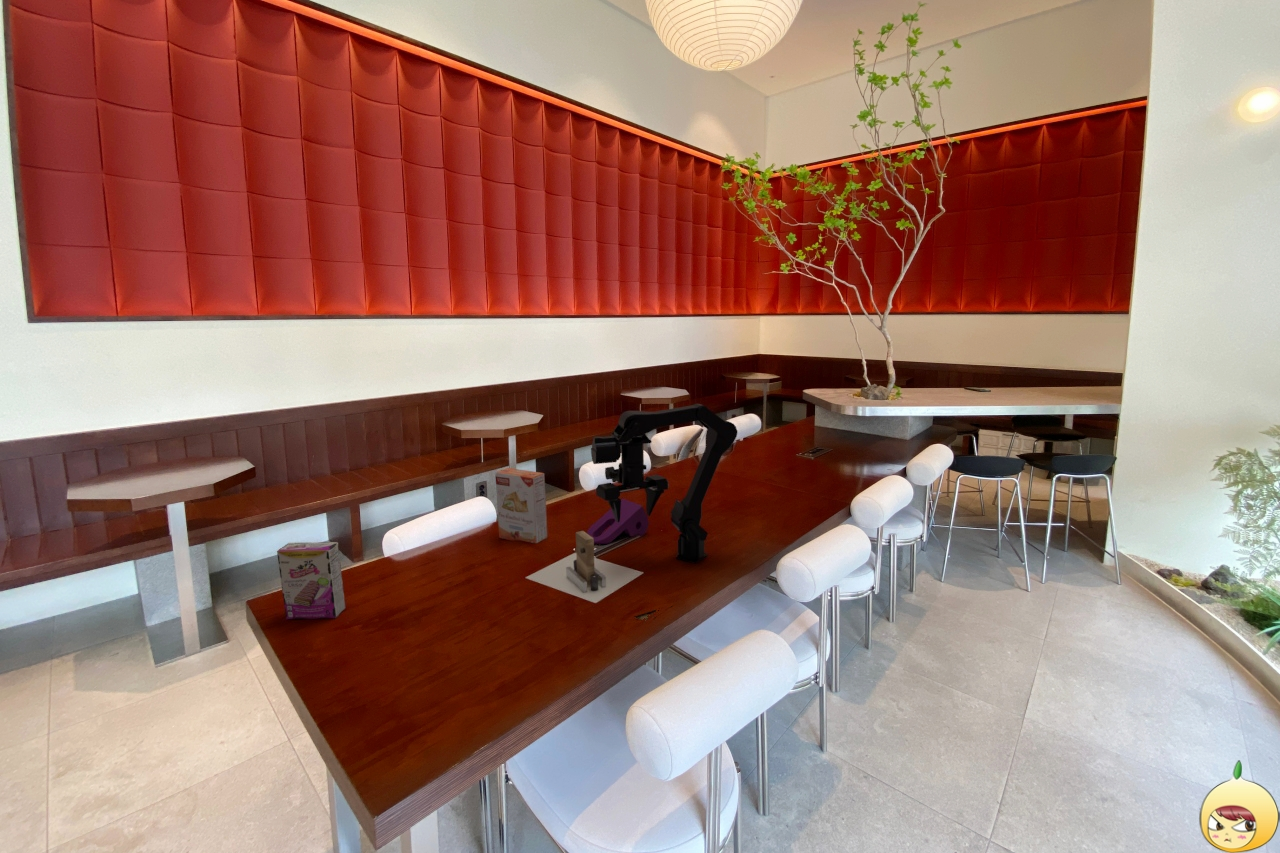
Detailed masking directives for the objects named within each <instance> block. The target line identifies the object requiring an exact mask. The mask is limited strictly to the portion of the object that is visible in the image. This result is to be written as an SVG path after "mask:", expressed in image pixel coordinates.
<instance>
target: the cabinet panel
mask: <svg viewBox="0 0 1280 853" xmlns="http://www.w3.org/2000/svg"><path fill="white" fill-rule="evenodd" d="M574 560H577V558H576V552H573V553H572V554H569V555H568V556H565V557H564V558H561V559H559V560H558V561H556V562H554V563H552V564H549V565H547V566H545V567H543V568H541V569H539V570H537V571H536V572H534V573H531V574H530V575H528V576H525V579H527V580H530V581H533V582H535V583H539V584H541V585H544V586H546V587H549V588H551V589H552V588H553V589H554V590H558V591H560V592H563V593H565V594H569V595H572V596H575V597H578V598H580V599H583V600H586V601H588V602H591V603H594V604H597V603H599V602H601V601H602V600H603V599H605V598H606V597H608V596H610V595H611V594H612V593H615V592H616V591H618V590H619V589H620V588H623V586H625V585H627V584H629V583H630V582H632V581H633V580H635V579H636V578H638V577H640V576H641V575H643V574H644V572H643V571H639V570H635V569H633V568H629V567H627V566H624V565H619V564H616V563H613V562H609V561H606V560H602V559H599V558H596V557H594V567H595V568H596V569H597V570H598V571H599V572H601V573H602V574H603V575H604V576H605V577H606V587H601V586H600V585H599V584H598V590H597V591H591V586H590V587H587V592H584V593H583V592H582V591H581V590H580V589H579V588H578V587H577V586H576V585H575V584H574V583H573V582H572V581H571V580H569V579H568V578H567V577H566V567H569V566H570V567H571V568H572V569H573V570H574Z"/></svg>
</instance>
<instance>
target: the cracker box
mask: <svg viewBox="0 0 1280 853" xmlns="http://www.w3.org/2000/svg"><path fill="white" fill-rule="evenodd" d="M495 489H496V490H495V492H496V504H497V505H496V506H497V520H498V521H497V522H498V535H499V536H498V537H499V539H503V540H506V541H507V540H508V541H511V542H513V541H523V542H527V543H532V544H538V543H539V542H541V541H543V540H545V539H548V522H547V521H548V520H547V501H546V499H547V498H546V479H545V473H544V472H539V471H538V472H537V471H532V470H525V469H518V468H512V467H506V468H503V469H500V470H496V471H495Z"/></svg>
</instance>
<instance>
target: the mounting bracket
mask: <svg viewBox="0 0 1280 853" xmlns="http://www.w3.org/2000/svg"><path fill="white" fill-rule="evenodd" d="M649 523H650V522H649V518H648V515H647V512H646V510H645V509H644V507H643V505H641V504H639V503H636V502H633V501H630V500H628V499H625V498H622V499H621V512H620V522H617V521H616V519H615V517H614V514H613V512H612V509H611V508H610V509H609V510H608V511H607V512H605V513H604V515H602V516H601V517H600V518H599V519H598V520H596V522H594V523H593V524H592V525H591V526H590V527H589V528H588V529H587V532H586V533H587V534H588V535H590V536H591V537H592V538H594V545H595V544H596V545H607V544H610V543H611V542H612V541H614V540H616V538H618V536H620V535H621V534H622V533H623V532H624V533H625V535H628V537H629V536H630V537H634V536H637V535H639V537H640V536H641V537H643V536H644V535H645V534H646V533H647V531H648V529H649Z"/></svg>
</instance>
